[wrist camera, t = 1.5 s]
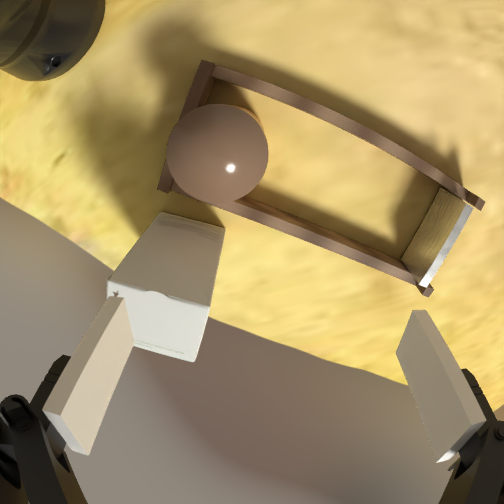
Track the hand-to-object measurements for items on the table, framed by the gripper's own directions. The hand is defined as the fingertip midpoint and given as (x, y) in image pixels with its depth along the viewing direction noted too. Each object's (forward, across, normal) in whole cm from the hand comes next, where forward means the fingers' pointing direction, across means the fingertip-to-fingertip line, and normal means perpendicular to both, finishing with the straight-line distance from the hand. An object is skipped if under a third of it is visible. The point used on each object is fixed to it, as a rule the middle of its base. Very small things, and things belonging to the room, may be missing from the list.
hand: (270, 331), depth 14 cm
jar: (+23, -4, +5) cm, 24 cm away
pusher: (+23, +21, -3) cm, 31 cm away
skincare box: (+23, -9, -7) cm, 26 cm away
